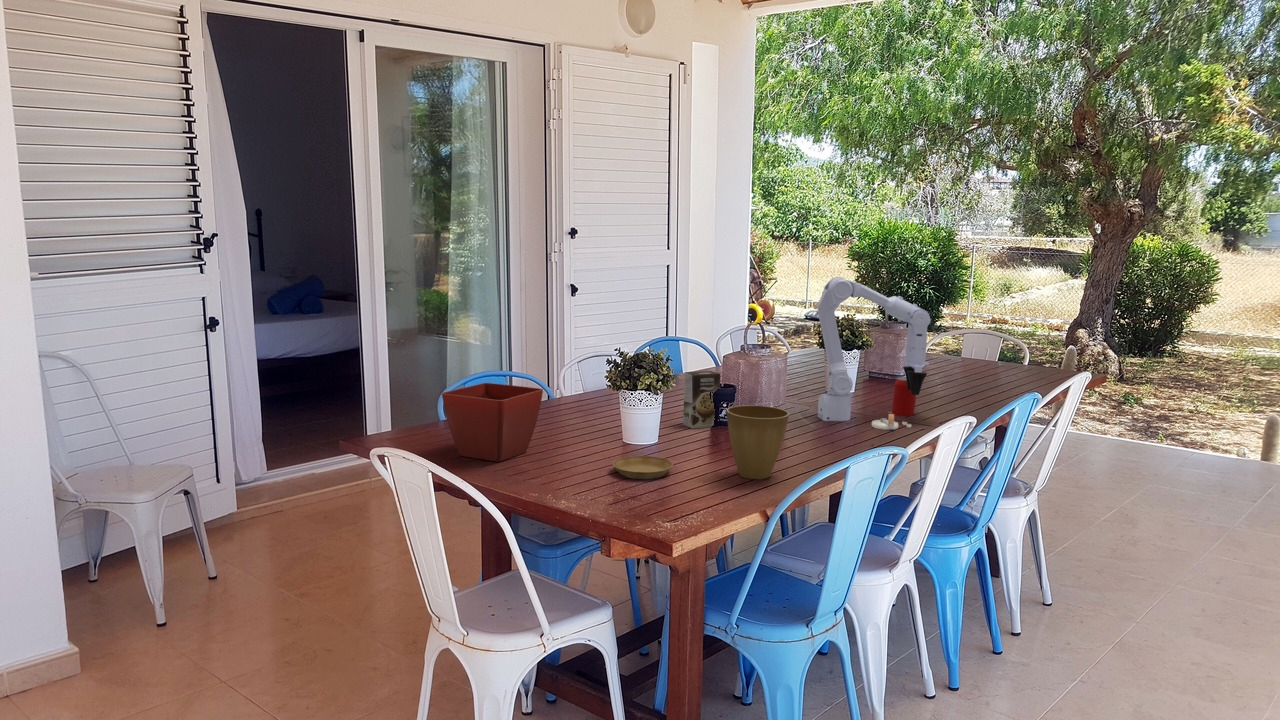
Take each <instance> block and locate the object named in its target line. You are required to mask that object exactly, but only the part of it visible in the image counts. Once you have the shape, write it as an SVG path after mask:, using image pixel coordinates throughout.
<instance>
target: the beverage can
mask: <svg viewBox="0 0 1280 720" xmlns="http://www.w3.org/2000/svg"><path fill="white" fill-rule="evenodd" d="M916 399H917V395H912V394H911V390H908V388H907V380H906V377H897V379H896V381H895V382H894V388H893V397H892V405H891V406H892V407H891V414H894V416H900V417H911V416H914V415H915V409H916V407H915V406H916Z"/></svg>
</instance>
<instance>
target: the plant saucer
mask: <svg viewBox="0 0 1280 720" xmlns="http://www.w3.org/2000/svg"><path fill="white" fill-rule="evenodd" d="M612 466H613V468H614V469H615V470H616V472H617V473H618V474H620V475H621V476H623V477H625V478H629V479H635V480H651V479H658V478H661V477H663V476H665V475H666V474H667V473H668V472H669V471H670V470H671V469H672V467H673V466H674V465H673V461H671V460H669V459H667V458H664V457H660V456H654V455H653V456H652V455H632V456H631V455H630V456H625V457H624V456H623V457H619V458H617V459H615V460H613V461H612Z"/></svg>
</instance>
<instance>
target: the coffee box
mask: <svg viewBox="0 0 1280 720" xmlns="http://www.w3.org/2000/svg"><path fill="white" fill-rule="evenodd" d="M718 386H720V387H718ZM718 388H720V389H721V373H719V372H717V371H716V372H715V371H713V370H704V371H703V370H702V371H685V372H684V390H683V391H684V392H683V393H684V394H683V411H682V412H683V413H682V414H683V416H682V417H683V418H682V422H683V423H682V425H683V426H685V427H688V428H690V429H692V430H693V429H702V428H704V429H705V428H713V427H712V426H713V425H714V420H715V418H714V417H715V409H714V403H713V393H714V392H715V391H716V390H717V389H718ZM710 392H711V399H710ZM712 392H713V393H712Z"/></svg>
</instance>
